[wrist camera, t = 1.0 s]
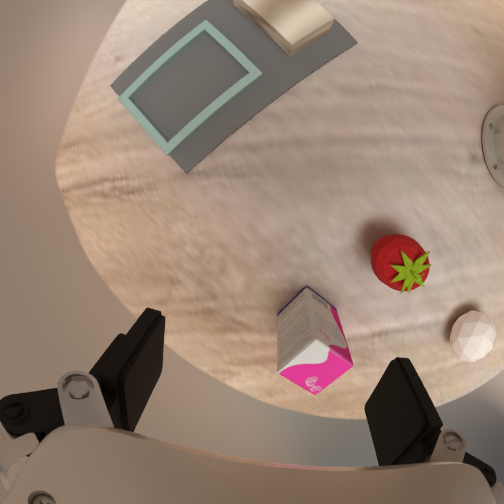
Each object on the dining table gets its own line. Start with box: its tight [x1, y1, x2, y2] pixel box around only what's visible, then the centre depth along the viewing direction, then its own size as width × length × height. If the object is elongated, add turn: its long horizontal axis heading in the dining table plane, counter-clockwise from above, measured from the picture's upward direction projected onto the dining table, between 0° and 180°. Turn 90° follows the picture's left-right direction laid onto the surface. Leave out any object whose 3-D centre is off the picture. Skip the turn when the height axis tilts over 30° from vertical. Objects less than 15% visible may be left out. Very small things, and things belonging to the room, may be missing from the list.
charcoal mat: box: [111, 0, 358, 174], centre depth 29 cm, size 26×16×1 cm, turn 130°
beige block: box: [233, 0, 335, 57], centre depth 24 cm, size 10×6×4 cm, turn 40°
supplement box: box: [277, 286, 353, 395], centre depth 33 cm, size 6×6×12 cm
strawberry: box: [371, 234, 431, 293], centre depth 30 cm, size 6×8×10 cm
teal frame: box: [118, 20, 263, 155], centre depth 29 cm, size 14×10×1 cm
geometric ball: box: [450, 310, 496, 362], centre depth 34 cm, size 8×8×8 cm
